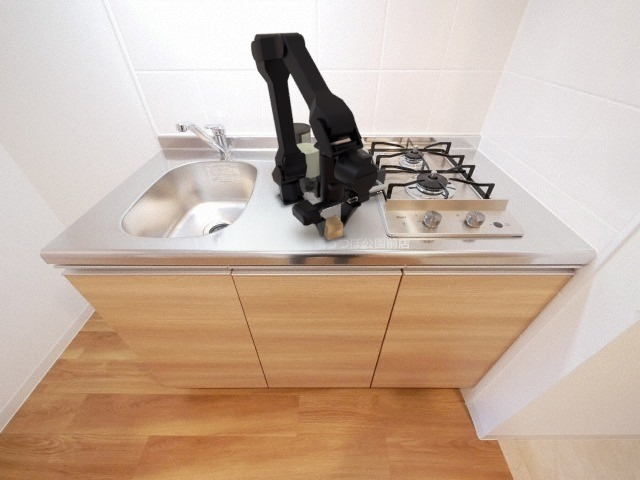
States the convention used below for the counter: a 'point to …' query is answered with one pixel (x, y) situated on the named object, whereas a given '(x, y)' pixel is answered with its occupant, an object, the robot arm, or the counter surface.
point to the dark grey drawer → (379, 181)
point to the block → (333, 227)
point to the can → (310, 159)
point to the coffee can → (302, 133)
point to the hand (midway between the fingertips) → (332, 230)
